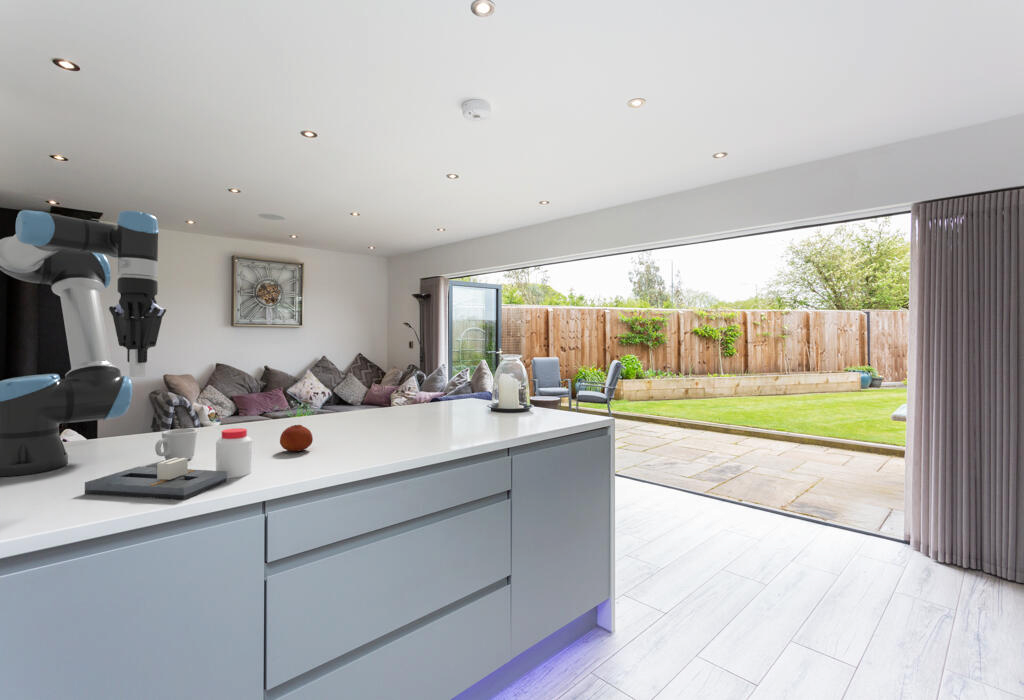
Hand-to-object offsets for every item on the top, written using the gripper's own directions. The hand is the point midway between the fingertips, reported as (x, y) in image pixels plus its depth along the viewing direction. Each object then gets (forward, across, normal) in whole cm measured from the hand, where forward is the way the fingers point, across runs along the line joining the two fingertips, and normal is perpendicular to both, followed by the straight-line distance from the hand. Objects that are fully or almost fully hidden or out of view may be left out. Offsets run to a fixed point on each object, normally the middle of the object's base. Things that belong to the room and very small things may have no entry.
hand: (137, 376), depth 114 cm
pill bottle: (+25, +20, +7) cm, 32 cm away
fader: (+23, +15, -6) cm, 28 cm away
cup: (+25, -3, +15) cm, 29 cm away
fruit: (+25, +22, +32) cm, 46 cm away
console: (+24, +12, -6) cm, 28 cm away
